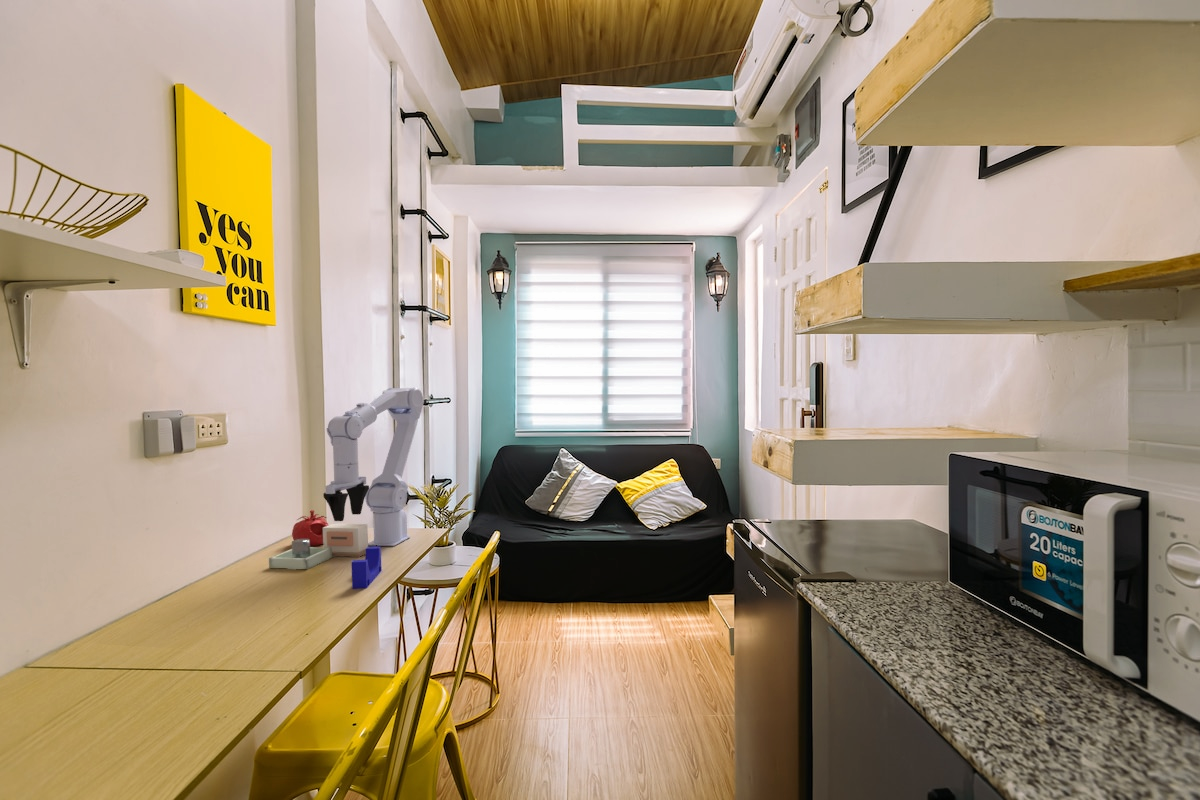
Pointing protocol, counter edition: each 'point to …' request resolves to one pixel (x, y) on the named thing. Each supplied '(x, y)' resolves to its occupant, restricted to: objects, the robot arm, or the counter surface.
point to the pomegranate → (310, 529)
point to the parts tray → (300, 559)
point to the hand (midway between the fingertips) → (347, 517)
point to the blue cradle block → (366, 568)
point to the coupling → (301, 548)
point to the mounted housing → (346, 539)
